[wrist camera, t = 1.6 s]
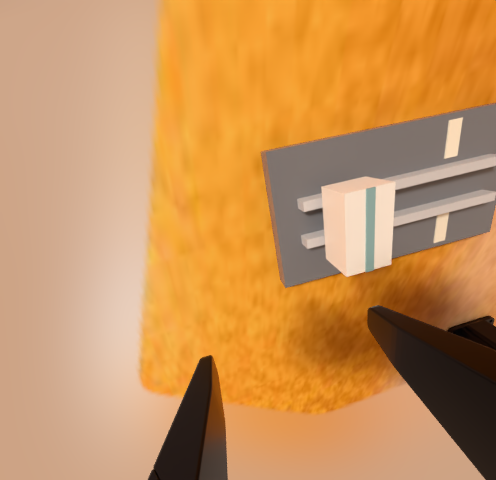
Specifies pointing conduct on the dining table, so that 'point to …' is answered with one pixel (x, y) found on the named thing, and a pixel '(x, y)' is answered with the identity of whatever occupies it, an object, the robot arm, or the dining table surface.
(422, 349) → the robot arm
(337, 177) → the grey slider panel
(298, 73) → the dining table surface
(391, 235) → the block
